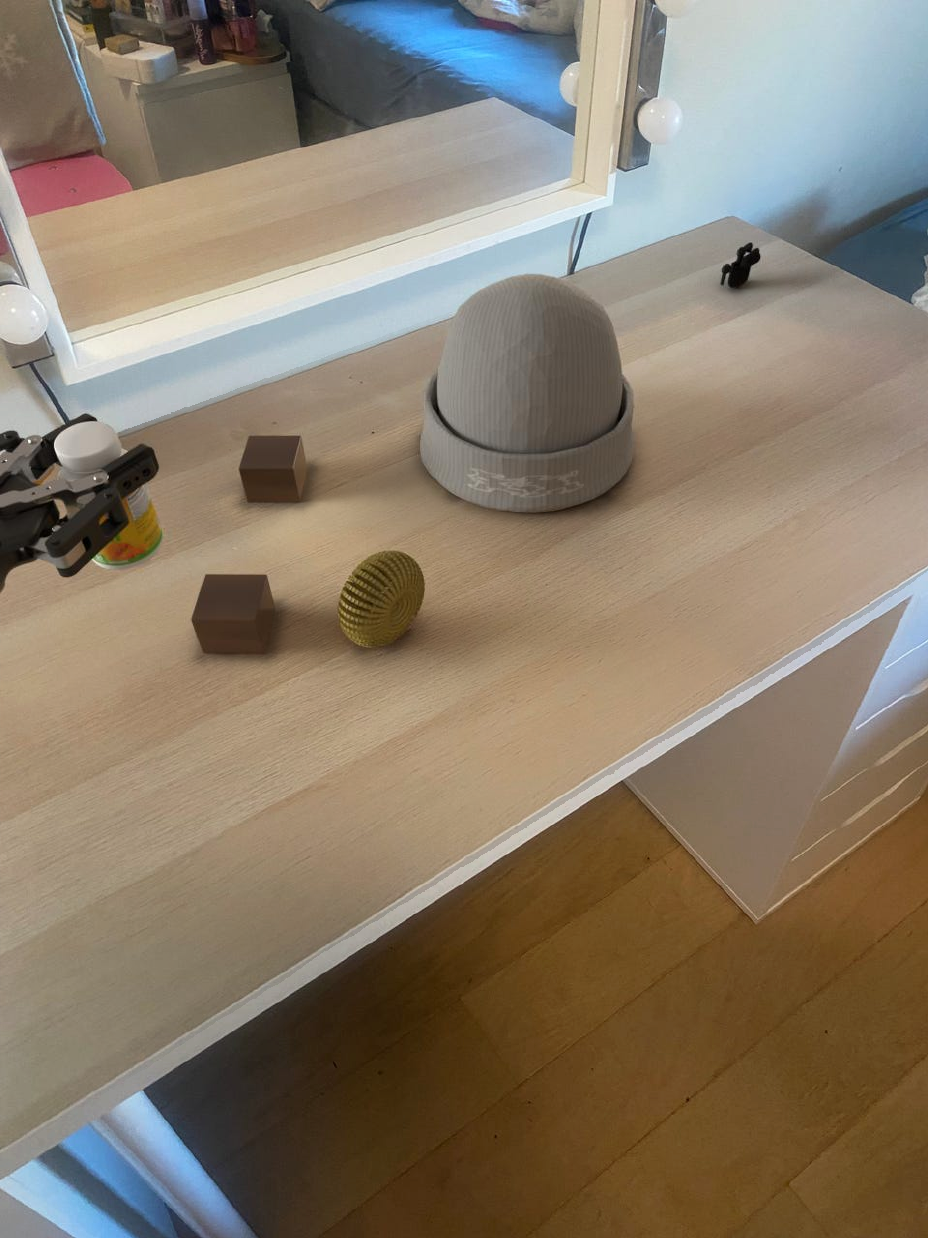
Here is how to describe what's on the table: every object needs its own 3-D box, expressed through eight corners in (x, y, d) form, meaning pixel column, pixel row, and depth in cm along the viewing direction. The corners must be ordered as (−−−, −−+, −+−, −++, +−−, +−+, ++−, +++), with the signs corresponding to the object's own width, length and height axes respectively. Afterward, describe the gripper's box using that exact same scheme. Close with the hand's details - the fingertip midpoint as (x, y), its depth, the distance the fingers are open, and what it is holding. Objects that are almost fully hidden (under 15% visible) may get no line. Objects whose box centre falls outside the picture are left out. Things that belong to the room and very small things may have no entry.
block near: (216, 607, 75) (205, 573, 72) (275, 607, 75) (266, 574, 72) (203, 653, 71) (190, 620, 68) (265, 653, 71) (255, 620, 68)
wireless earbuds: (748, 273, 111) (757, 233, 107) (765, 280, 110) (775, 239, 106) (713, 292, 108) (722, 252, 104) (730, 300, 107) (739, 259, 103)
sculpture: (401, 594, 75) (393, 523, 69) (437, 616, 74) (432, 545, 68) (334, 651, 71) (319, 580, 65) (370, 675, 69) (359, 605, 64)
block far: (256, 468, 87) (248, 435, 84) (307, 468, 87) (301, 435, 84) (247, 502, 84) (238, 468, 81) (300, 502, 84) (293, 468, 81)
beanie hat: (419, 540, 91) (396, 463, 72) (433, 352, 96) (415, 232, 77) (625, 550, 90) (659, 474, 71) (629, 359, 95) (662, 238, 75)
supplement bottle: (75, 565, 65) (25, 457, 57) (112, 517, 68) (69, 409, 61) (143, 578, 64) (100, 469, 56) (177, 528, 67) (141, 420, 60)
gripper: (-66, 590, 47) (181, 431, 56) (-204, 488, 52) (40, 359, 62) (-8, 679, 52) (208, 521, 61) (-139, 578, 58) (76, 447, 67)
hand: (123, 440), depth 61 cm, fingers closed on supplement bottle, 5 cm apart
